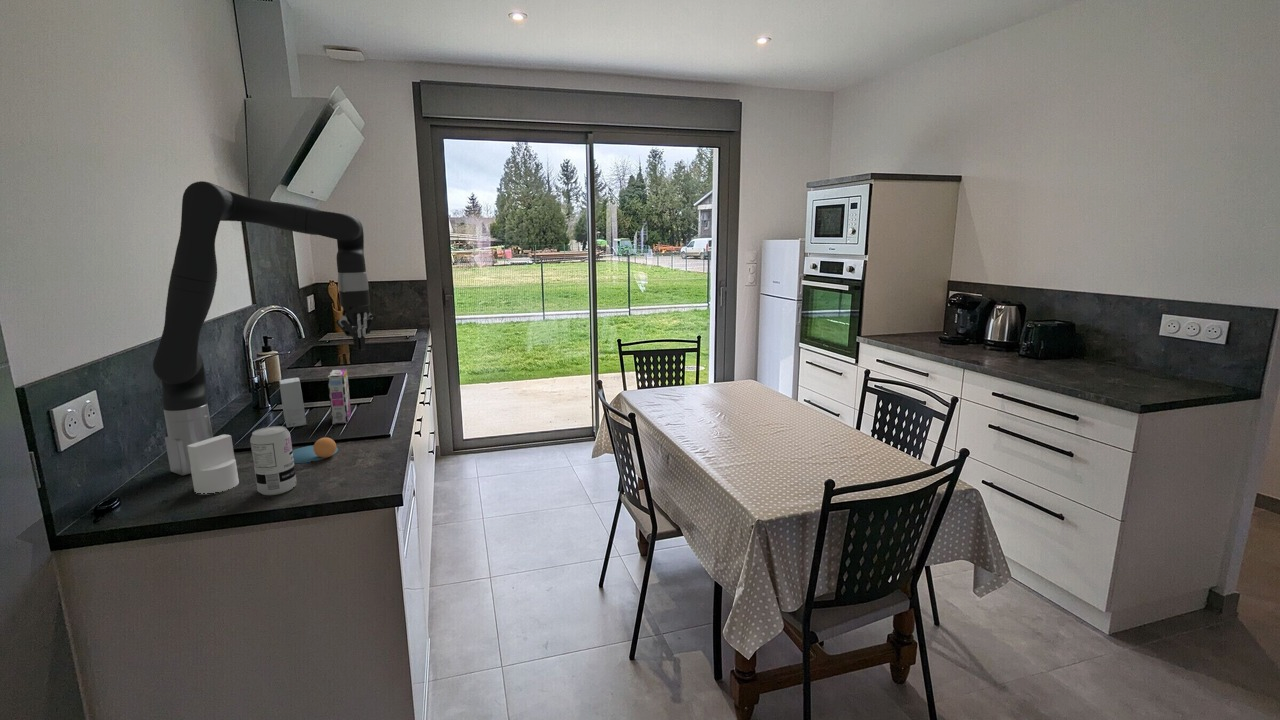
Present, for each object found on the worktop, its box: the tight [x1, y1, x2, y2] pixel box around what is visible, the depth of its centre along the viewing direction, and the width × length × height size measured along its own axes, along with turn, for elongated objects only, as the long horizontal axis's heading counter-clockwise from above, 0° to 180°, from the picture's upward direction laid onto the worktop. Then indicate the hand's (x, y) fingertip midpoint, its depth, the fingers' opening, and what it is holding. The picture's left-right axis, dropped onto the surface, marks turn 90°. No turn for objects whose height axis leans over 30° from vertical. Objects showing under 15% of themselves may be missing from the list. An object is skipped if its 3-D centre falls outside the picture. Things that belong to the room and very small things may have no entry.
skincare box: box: [278, 377, 308, 428], centre depth 193 cm, size 8×6×15 cm
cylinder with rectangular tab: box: [187, 434, 240, 495], centre depth 144 cm, size 9×9×12 cm
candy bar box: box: [327, 368, 352, 425], centre depth 197 cm, size 11×5×16 cm, turn 21°
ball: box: [313, 437, 337, 459], centre depth 164 cm, size 6×6×6 cm
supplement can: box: [249, 425, 298, 496], centre depth 142 cm, size 8×8×15 cm
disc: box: [292, 444, 339, 464], centre depth 167 cm, size 14×14×1 cm
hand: (360, 350), depth 166 cm, fingers closed
